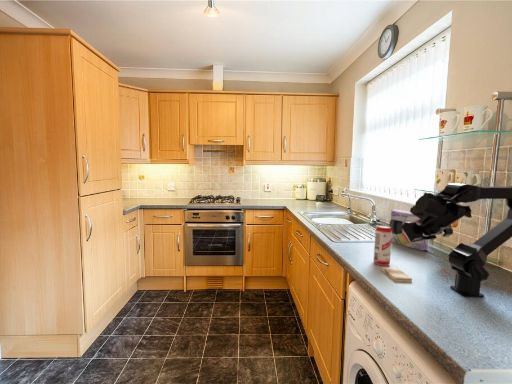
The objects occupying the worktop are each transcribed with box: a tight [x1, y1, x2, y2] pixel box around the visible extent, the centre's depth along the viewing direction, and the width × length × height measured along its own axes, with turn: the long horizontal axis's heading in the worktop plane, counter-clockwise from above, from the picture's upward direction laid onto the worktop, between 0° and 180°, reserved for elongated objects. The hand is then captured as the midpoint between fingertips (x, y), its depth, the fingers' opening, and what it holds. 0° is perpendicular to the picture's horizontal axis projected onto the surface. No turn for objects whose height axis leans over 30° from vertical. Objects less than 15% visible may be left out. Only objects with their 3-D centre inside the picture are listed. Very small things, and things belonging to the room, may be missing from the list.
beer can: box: [373, 224, 392, 267], centre depth 110 cm, size 6×6×16 cm
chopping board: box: [381, 266, 413, 283], centre depth 99 cm, size 10×6×1 cm, turn 179°
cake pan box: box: [388, 209, 429, 251], centre depth 135 cm, size 19×5×18 cm, turn 23°
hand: (411, 241), depth 97 cm, fingers closed
